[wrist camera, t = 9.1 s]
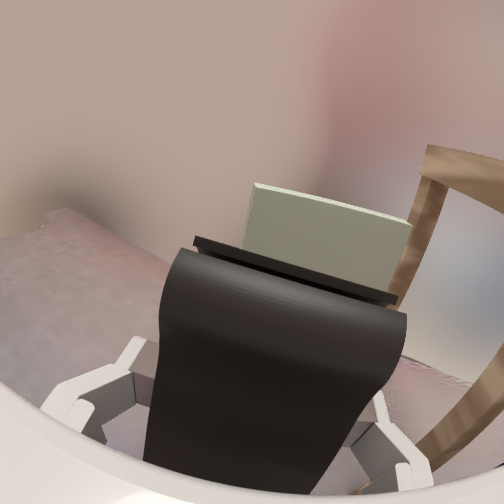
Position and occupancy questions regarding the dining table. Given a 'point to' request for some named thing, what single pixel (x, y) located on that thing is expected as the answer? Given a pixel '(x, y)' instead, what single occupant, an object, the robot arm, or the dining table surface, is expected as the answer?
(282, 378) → the phone stand
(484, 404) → the door frame
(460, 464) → the dining table surface
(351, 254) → the door
